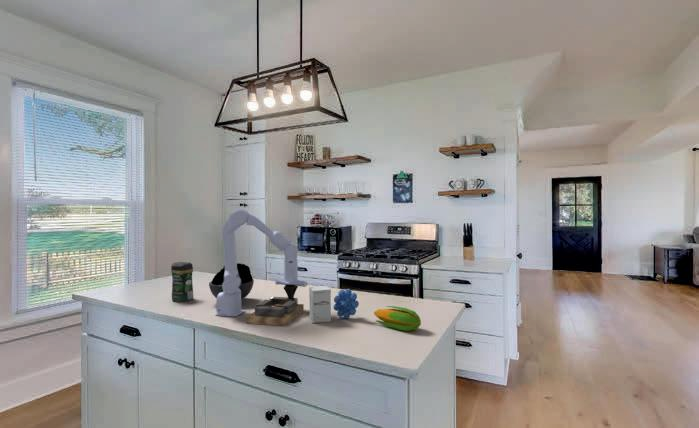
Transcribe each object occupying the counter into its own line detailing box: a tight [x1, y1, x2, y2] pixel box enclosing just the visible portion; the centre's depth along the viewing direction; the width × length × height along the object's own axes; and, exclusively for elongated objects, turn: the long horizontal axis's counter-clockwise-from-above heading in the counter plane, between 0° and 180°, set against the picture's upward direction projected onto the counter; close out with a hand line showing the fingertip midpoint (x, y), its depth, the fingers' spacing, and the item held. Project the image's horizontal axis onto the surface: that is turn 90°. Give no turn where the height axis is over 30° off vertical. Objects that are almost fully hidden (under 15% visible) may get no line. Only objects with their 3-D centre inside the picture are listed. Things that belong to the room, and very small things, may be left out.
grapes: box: [333, 288, 360, 320], centre depth 137 cm, size 12×7×12 cm, turn 58°
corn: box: [373, 305, 422, 332], centre depth 126 cm, size 7×8×20 cm
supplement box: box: [308, 285, 332, 324], centre depth 135 cm, size 7×7×13 cm
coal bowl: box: [208, 262, 255, 301], centre depth 162 cm, size 20×20×19 cm
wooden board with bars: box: [245, 299, 305, 327], centre depth 140 cm, size 16×20×6 cm
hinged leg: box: [269, 296, 299, 306], centre depth 147 cm, size 12×3×3 cm, turn 75°
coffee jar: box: [170, 261, 194, 302], centre depth 168 cm, size 10×8×19 cm
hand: (291, 301), depth 149 cm, fingers closed, pressing on hinged leg
